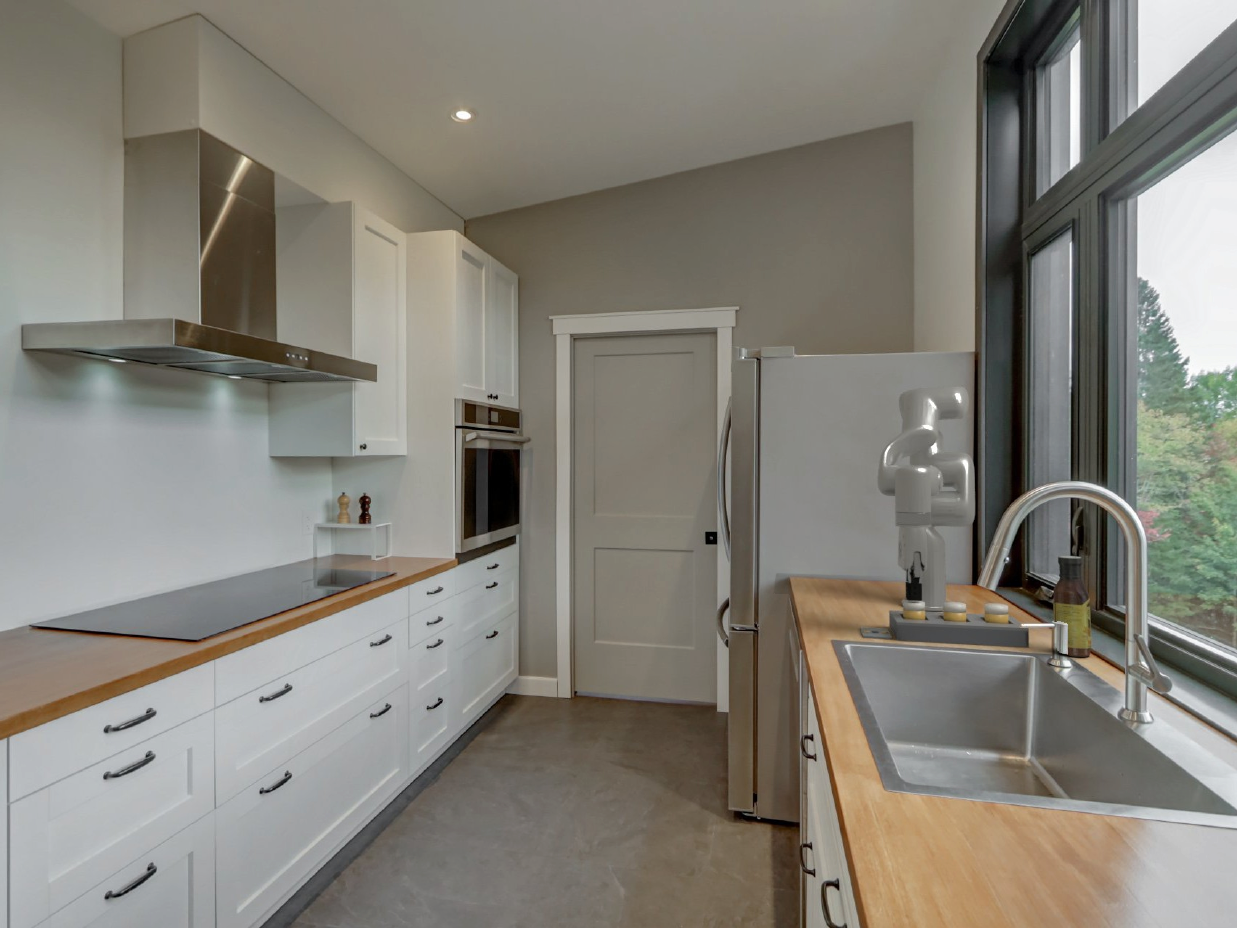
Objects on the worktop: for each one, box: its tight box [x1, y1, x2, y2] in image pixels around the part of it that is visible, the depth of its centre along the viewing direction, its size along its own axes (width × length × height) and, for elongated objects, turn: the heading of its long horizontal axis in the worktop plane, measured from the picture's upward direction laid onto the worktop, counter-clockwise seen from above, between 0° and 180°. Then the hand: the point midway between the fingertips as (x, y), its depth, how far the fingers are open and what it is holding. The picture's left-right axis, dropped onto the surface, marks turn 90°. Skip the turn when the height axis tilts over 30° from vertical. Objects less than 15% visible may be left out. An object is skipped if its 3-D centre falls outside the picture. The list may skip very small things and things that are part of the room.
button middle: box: [942, 601, 967, 622], centre depth 149 cm, size 5×5×6 cm
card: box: [859, 626, 893, 640], centre depth 152 cm, size 8×6×1 cm
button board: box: [888, 609, 1030, 648], centre depth 149 cm, size 12×26×4 cm, turn 75°
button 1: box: [902, 600, 926, 620], centre depth 151 cm, size 5×5×6 cm
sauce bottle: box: [1052, 555, 1092, 658], centre depth 135 cm, size 6×6×20 cm
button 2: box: [984, 602, 1009, 624], centre depth 147 cm, size 5×5×6 cm
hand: (913, 599), depth 151 cm, fingers closed
